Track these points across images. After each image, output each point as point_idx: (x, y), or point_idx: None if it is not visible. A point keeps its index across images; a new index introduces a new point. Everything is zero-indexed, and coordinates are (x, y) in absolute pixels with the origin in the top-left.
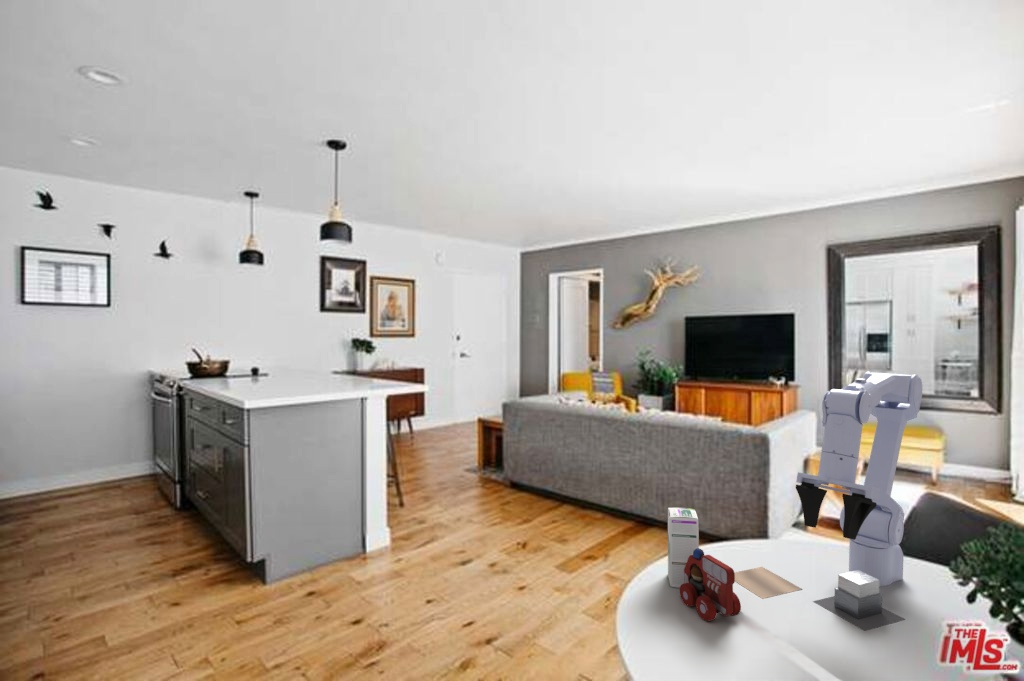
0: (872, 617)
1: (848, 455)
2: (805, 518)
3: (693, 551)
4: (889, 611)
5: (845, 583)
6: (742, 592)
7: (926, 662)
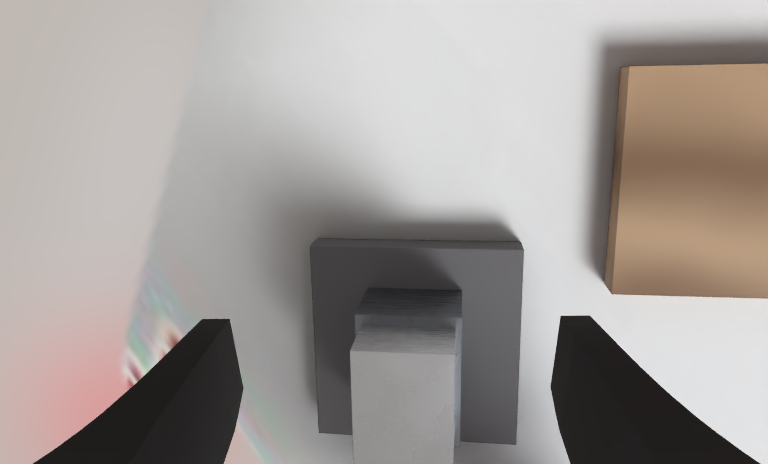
0: None
1: None
2: (597, 341)
3: None
4: None
5: (418, 342)
6: None
7: (180, 297)
